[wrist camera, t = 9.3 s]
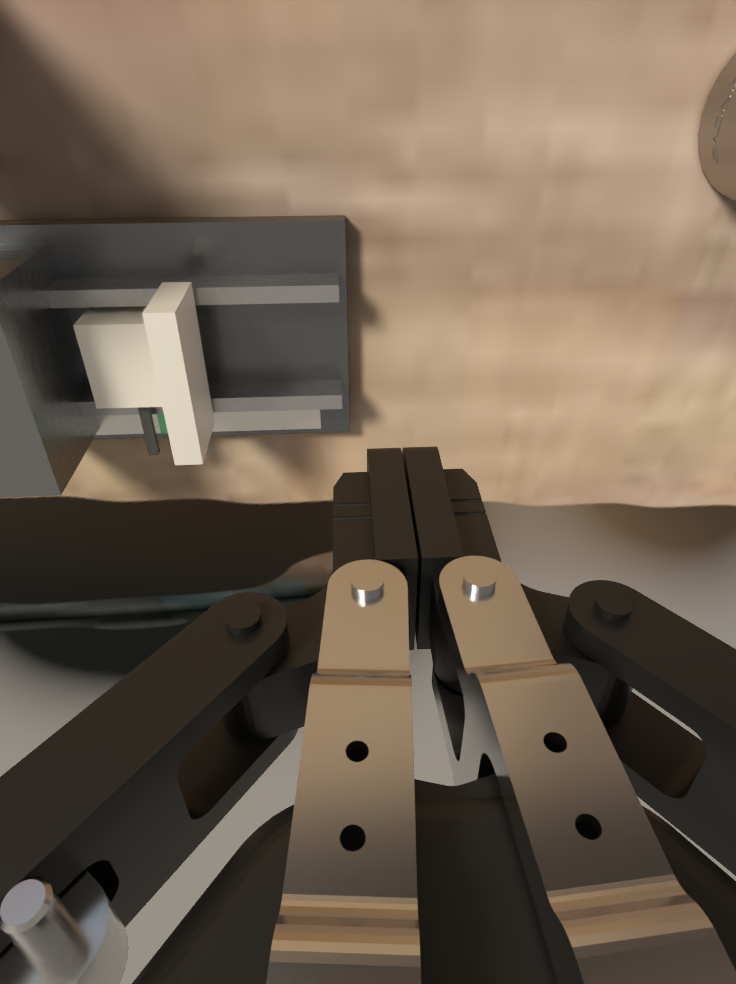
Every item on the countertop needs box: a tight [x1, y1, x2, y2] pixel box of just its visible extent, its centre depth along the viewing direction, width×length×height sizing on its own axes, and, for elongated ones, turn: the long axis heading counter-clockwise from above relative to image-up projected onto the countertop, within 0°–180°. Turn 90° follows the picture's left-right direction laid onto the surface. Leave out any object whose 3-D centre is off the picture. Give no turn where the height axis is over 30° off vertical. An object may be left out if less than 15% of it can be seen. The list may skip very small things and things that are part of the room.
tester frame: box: [0, 216, 350, 497], centre depth 37 cm, size 21×14×9 cm, turn 90°
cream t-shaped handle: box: [73, 282, 215, 465], centre depth 37 cm, size 7×11×7 cm, turn 0°
